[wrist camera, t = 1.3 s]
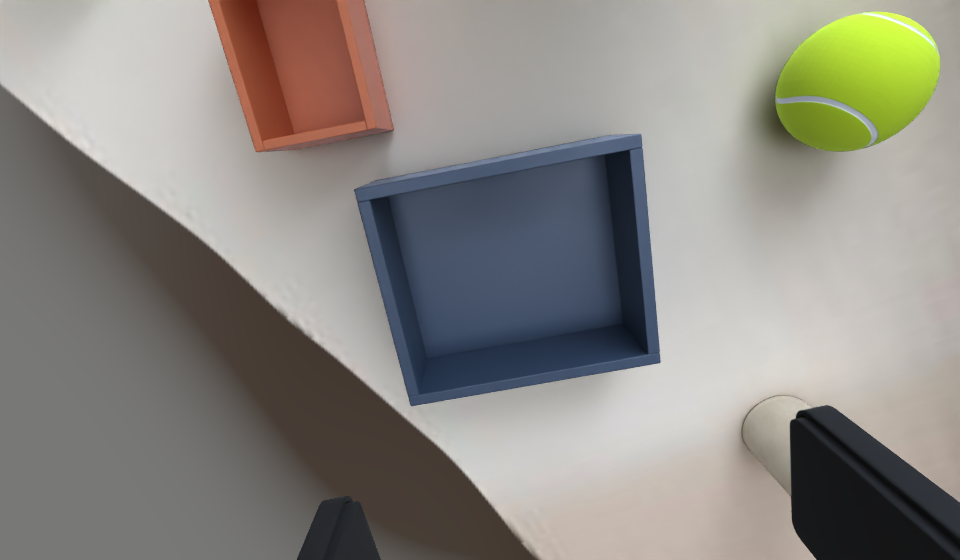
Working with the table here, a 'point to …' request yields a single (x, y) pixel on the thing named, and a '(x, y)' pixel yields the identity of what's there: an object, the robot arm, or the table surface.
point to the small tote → (303, 70)
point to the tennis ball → (857, 81)
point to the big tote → (516, 268)
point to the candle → (773, 435)
